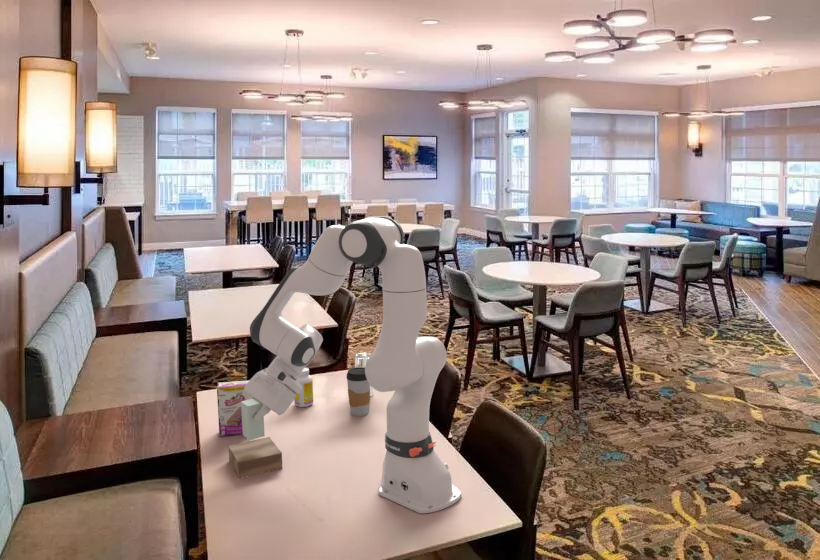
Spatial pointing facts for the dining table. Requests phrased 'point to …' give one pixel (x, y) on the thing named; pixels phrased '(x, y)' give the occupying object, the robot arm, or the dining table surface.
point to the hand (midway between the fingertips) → (250, 416)
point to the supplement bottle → (305, 390)
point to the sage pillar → (251, 419)
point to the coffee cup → (358, 391)
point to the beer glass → (362, 363)
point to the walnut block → (255, 457)
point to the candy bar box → (231, 407)
